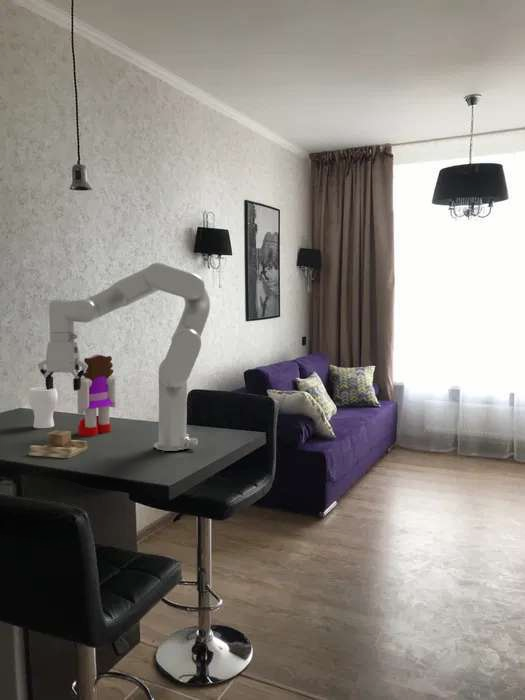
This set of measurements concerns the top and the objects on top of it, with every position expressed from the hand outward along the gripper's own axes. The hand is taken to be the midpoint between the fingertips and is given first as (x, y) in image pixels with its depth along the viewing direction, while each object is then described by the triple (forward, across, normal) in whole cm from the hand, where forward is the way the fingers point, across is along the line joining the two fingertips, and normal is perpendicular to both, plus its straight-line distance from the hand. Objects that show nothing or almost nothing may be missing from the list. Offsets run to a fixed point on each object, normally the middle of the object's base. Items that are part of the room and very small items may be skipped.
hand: (63, 389), depth 187 cm
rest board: (+21, +1, +1) cm, 21 cm away
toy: (+21, +3, -28) cm, 35 cm away
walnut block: (+20, +1, +1) cm, 20 cm away
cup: (+21, +27, -32) cm, 47 cm away
